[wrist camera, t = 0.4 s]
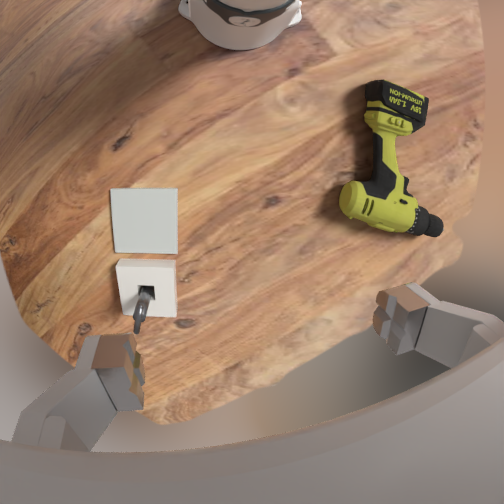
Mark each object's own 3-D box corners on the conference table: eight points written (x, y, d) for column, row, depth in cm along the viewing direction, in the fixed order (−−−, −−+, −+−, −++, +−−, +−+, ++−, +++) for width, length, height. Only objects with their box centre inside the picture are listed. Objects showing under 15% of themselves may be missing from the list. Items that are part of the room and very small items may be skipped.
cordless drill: (462, 129, 46) (427, 238, 56) (364, 76, 41) (327, 211, 51) (485, 133, 40) (447, 252, 49) (384, 72, 35) (341, 224, 45)
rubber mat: (111, 188, 44) (110, 189, 43) (177, 187, 46) (177, 189, 45) (116, 250, 48) (115, 252, 48) (177, 251, 50) (177, 253, 49)
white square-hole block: (120, 258, 49) (115, 266, 46) (175, 259, 51) (173, 267, 48) (126, 305, 53) (123, 314, 51) (177, 307, 55) (176, 317, 52)
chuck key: (146, 268, 51) (133, 304, 41) (157, 271, 51) (146, 307, 41) (141, 295, 53) (129, 333, 43) (151, 298, 53) (141, 337, 43)
